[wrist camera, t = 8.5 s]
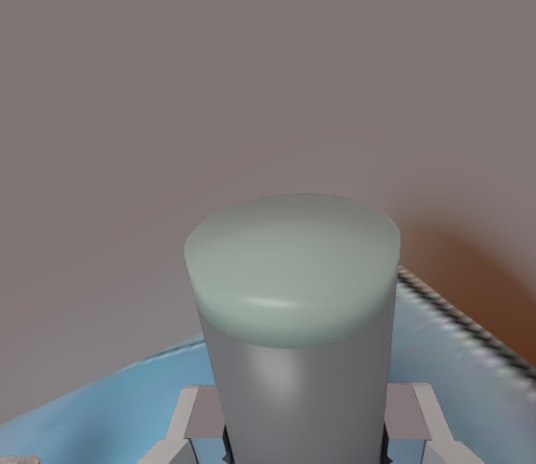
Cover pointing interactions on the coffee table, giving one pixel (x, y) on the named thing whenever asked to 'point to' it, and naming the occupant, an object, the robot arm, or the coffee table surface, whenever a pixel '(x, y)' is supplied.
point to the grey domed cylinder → (298, 324)
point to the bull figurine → (20, 460)
